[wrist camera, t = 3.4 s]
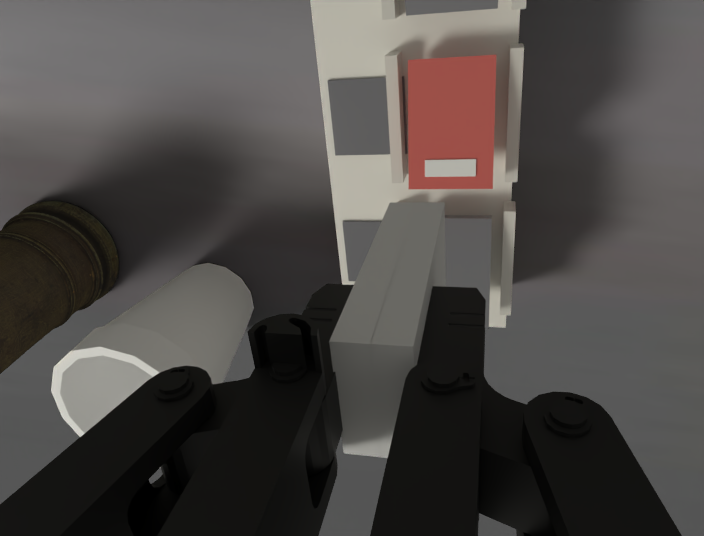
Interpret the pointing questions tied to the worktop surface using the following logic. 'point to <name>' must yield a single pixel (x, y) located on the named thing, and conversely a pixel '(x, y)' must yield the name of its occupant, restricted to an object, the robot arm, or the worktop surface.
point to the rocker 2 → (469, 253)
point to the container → (50, 272)
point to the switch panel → (392, 120)
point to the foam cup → (154, 343)
